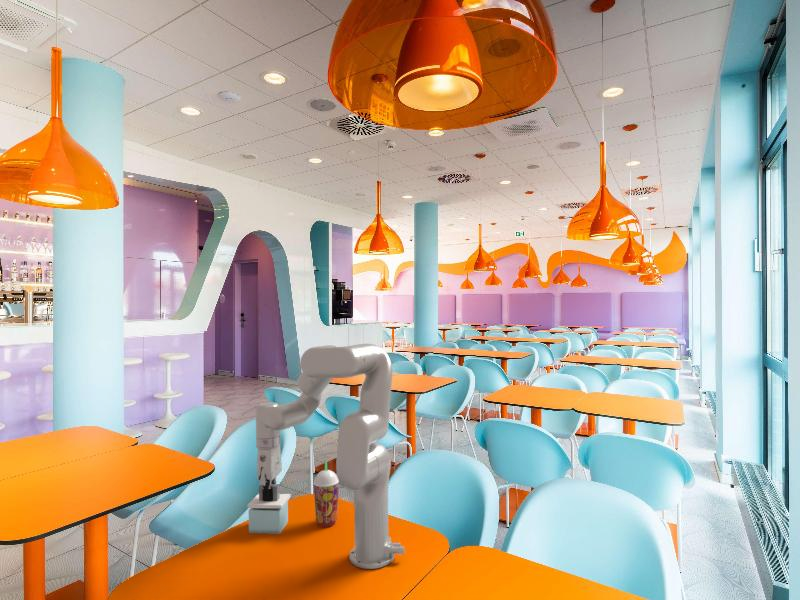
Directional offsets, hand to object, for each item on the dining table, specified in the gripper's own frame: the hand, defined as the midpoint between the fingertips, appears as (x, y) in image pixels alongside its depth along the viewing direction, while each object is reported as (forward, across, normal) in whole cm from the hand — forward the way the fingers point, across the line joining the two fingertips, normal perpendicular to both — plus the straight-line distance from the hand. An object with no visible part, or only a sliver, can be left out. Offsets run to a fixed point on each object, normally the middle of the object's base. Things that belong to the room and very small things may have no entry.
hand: (269, 498), depth 152 cm
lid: (+2, 0, 0) cm, 2 cm away
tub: (+9, 0, 0) cm, 9 cm away
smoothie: (+10, +4, -18) cm, 20 cm away
